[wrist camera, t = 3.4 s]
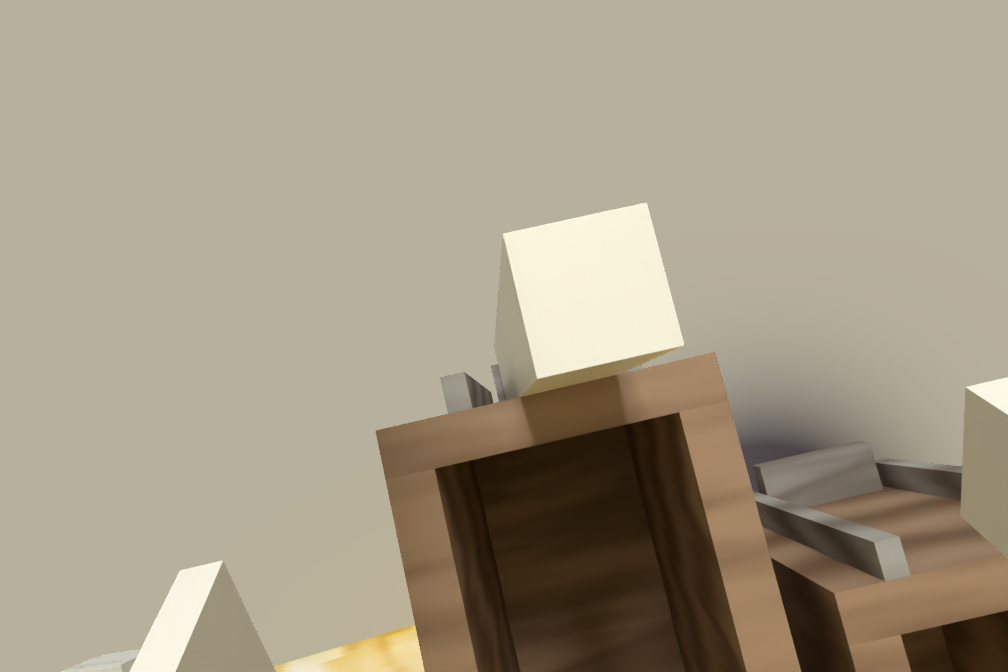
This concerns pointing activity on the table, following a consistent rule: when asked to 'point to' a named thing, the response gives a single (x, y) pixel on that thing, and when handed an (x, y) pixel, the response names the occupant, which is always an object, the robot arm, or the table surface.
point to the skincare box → (108, 663)
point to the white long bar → (581, 301)
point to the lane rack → (677, 540)
